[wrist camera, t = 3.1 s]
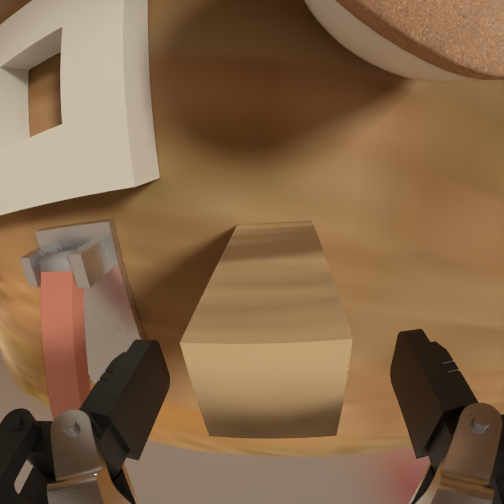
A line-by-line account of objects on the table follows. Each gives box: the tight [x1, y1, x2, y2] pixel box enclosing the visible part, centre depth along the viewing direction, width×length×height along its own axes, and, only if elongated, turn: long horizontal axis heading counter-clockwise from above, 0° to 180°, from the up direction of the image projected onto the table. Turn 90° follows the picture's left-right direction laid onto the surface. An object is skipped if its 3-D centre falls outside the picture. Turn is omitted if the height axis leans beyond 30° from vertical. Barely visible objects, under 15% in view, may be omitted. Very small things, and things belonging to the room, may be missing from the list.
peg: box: [180, 221, 353, 438], centre depth 12 cm, size 4×4×10 cm
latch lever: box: [40, 250, 91, 420], centre depth 15 cm, size 12×3×2 cm, turn 4°
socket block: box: [0, 0, 160, 215], centre depth 12 cm, size 14×14×3 cm
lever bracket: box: [20, 219, 146, 383], centre depth 18 cm, size 14×7×3 cm, turn 5°
